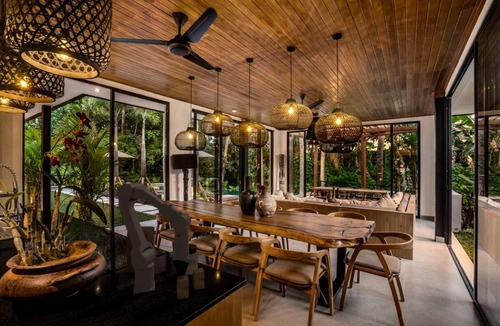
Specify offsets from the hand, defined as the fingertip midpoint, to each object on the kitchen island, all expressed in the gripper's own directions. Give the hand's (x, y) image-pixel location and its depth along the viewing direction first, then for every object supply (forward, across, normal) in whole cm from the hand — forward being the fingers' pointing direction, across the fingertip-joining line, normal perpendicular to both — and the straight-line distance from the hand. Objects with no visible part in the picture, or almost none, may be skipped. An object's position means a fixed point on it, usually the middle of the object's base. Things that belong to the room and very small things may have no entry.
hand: (181, 278), depth 102 cm
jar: (+5, -13, +13) cm, 19 cm away
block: (+5, -33, +1) cm, 34 cm away
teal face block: (+5, +3, -2) cm, 7 cm away
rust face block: (+5, +3, +6) cm, 9 cm away
